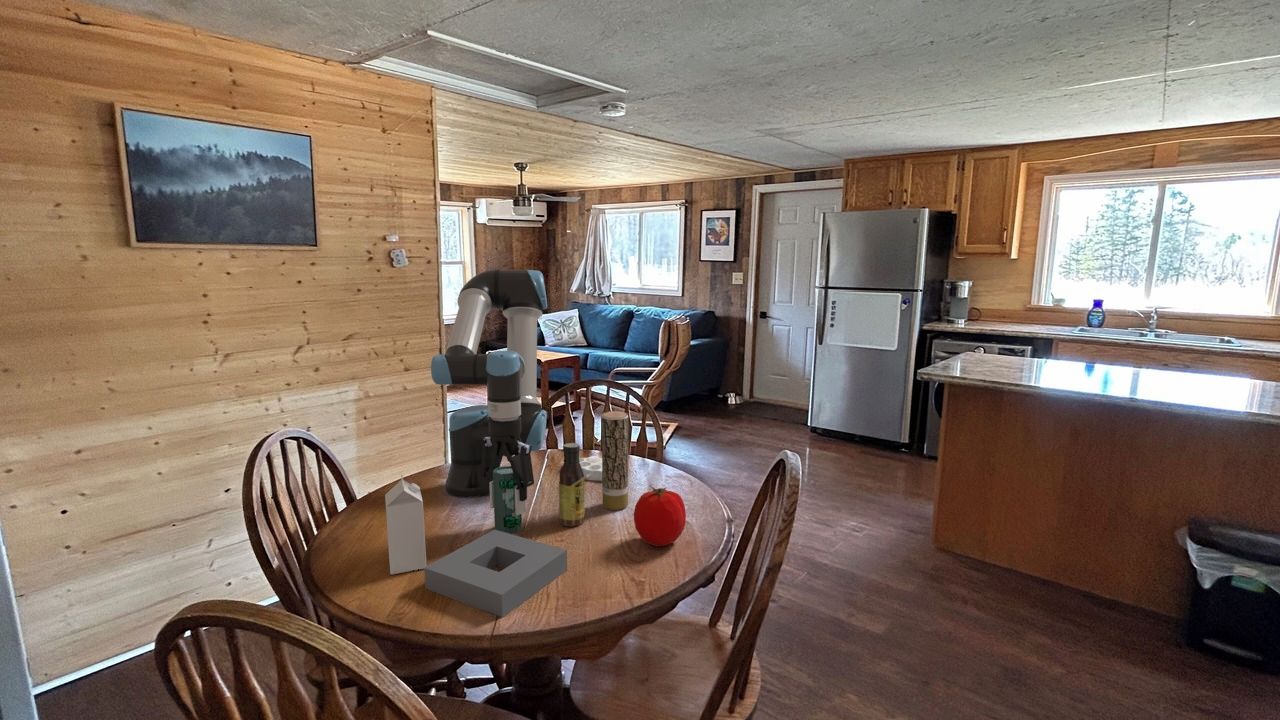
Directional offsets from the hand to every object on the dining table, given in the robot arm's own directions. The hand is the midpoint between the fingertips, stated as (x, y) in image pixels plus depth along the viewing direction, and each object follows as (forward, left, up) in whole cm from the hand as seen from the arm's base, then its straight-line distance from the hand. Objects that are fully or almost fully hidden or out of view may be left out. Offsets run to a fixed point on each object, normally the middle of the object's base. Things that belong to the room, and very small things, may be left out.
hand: (507, 509), depth 148 cm
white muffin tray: (-4, +44, -6) cm, 45 cm away
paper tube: (+15, +25, -5) cm, 30 cm away
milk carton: (-7, -24, -5) cm, 26 cm away
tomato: (+35, +12, -5) cm, 37 cm away
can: (0, 0, -5) cm, 5 cm away
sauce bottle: (+11, +11, -5) cm, 16 cm away
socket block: (+14, -19, -5) cm, 24 cm away
